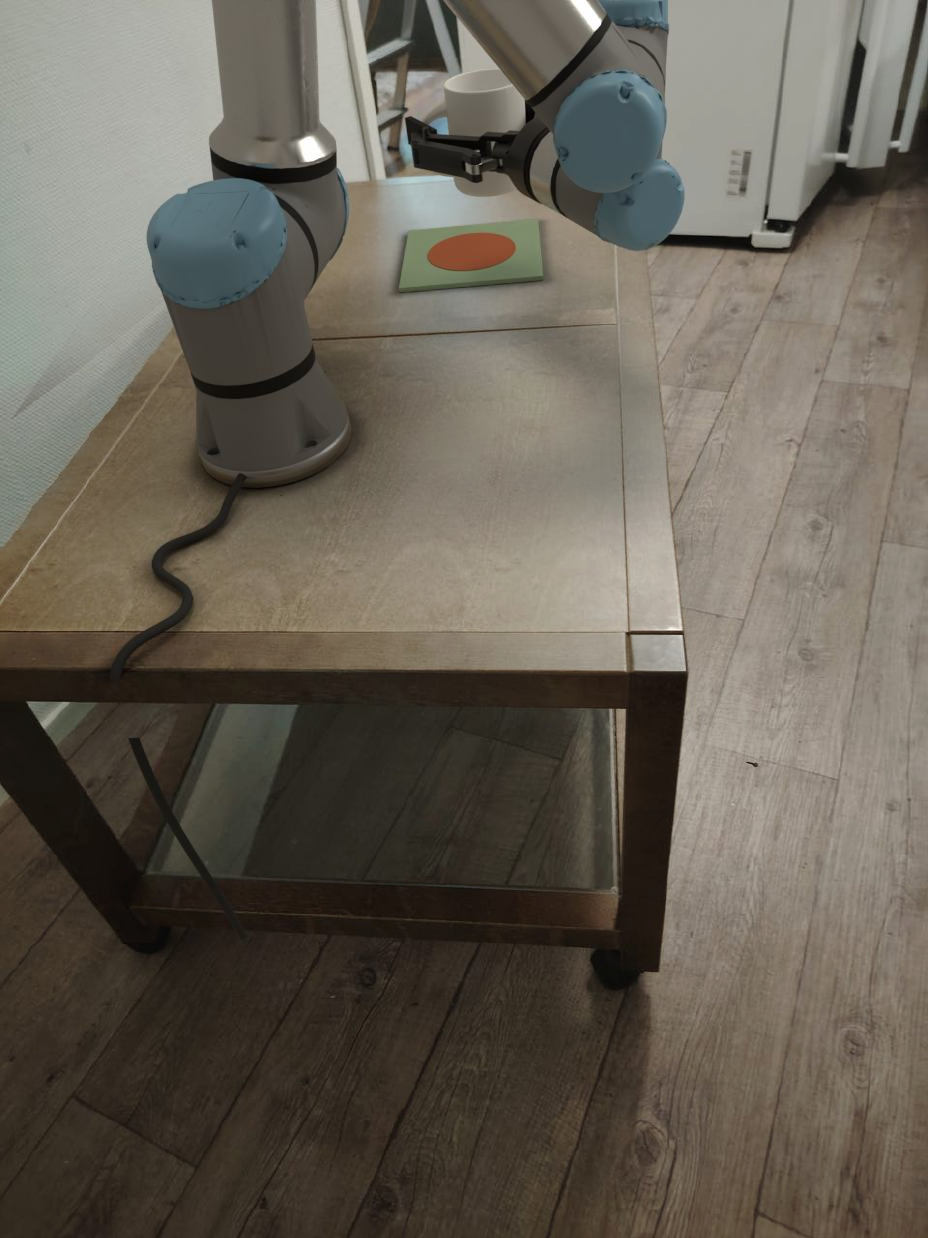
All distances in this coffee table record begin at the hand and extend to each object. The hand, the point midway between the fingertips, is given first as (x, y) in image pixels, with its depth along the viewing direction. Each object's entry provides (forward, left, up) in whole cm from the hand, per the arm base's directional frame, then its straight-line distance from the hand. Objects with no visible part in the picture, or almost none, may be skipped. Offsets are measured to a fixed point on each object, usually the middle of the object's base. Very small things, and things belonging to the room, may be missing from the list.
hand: (457, 116), depth 101 cm
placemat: (+5, 0, -18) cm, 19 cm away
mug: (-3, -2, -7) cm, 8 cm away
